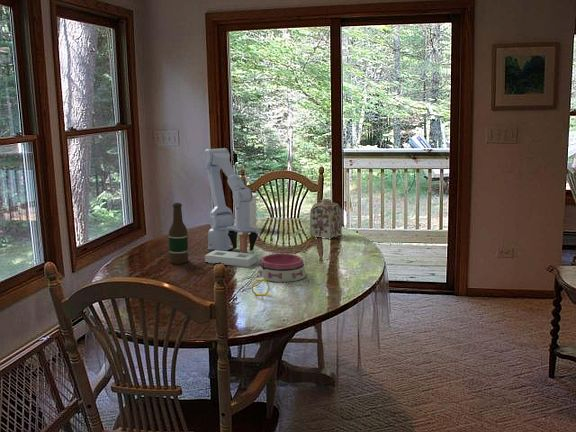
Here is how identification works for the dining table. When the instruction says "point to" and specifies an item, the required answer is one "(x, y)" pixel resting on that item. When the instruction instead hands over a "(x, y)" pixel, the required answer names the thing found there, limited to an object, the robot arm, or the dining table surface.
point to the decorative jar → (325, 219)
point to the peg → (243, 243)
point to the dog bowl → (281, 268)
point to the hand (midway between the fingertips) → (243, 249)
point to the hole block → (231, 258)
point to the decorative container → (253, 211)
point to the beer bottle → (178, 237)
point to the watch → (260, 281)
